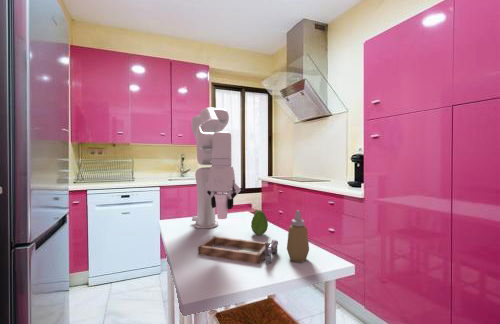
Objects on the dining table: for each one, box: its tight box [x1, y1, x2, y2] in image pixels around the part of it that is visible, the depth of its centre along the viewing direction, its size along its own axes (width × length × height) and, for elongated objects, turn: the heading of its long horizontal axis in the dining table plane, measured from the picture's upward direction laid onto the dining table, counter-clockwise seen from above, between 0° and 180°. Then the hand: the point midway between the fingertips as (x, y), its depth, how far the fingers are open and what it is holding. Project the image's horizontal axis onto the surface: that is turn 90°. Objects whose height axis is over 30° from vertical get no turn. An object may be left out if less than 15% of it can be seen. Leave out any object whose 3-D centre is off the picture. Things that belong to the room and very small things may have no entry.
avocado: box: [250, 209, 269, 236], centre depth 120 cm, size 8×8×12 cm
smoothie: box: [214, 192, 229, 220], centre depth 100 cm, size 6×6×14 cm
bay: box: [197, 236, 271, 265], centre depth 99 cm, size 25×13×3 cm, turn 70°
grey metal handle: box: [264, 239, 279, 264], centre depth 93 cm, size 2×12×8 cm, turn 160°
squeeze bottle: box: [286, 209, 310, 263], centre depth 92 cm, size 8×8×18 cm
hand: (222, 207), depth 100 cm, fingers closed on smoothie, 6 cm apart
